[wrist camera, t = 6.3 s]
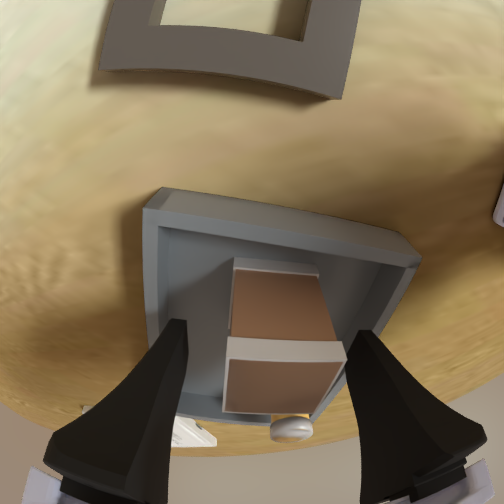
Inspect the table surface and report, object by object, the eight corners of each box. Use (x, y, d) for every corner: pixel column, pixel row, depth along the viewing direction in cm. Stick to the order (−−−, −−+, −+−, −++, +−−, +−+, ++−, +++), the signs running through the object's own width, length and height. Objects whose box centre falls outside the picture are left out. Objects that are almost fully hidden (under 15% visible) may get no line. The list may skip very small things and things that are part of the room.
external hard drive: (85, 401, 23) (178, 401, 21) (128, 434, 27) (217, 435, 25) (80, 413, 21) (175, 417, 19) (126, 445, 25) (216, 448, 23)
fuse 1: (315, 264, 13) (347, 360, 8) (298, 322, 14) (314, 413, 10) (234, 256, 12) (226, 356, 8) (228, 317, 14) (222, 412, 9)
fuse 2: (310, 376, 17) (319, 427, 14) (298, 395, 18) (304, 442, 15) (272, 373, 17) (276, 427, 13) (264, 393, 18) (266, 442, 15)
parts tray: (399, 232, 12) (422, 257, 10) (306, 401, 20) (310, 426, 18) (161, 187, 11) (142, 207, 9) (164, 386, 19) (158, 412, 17)
